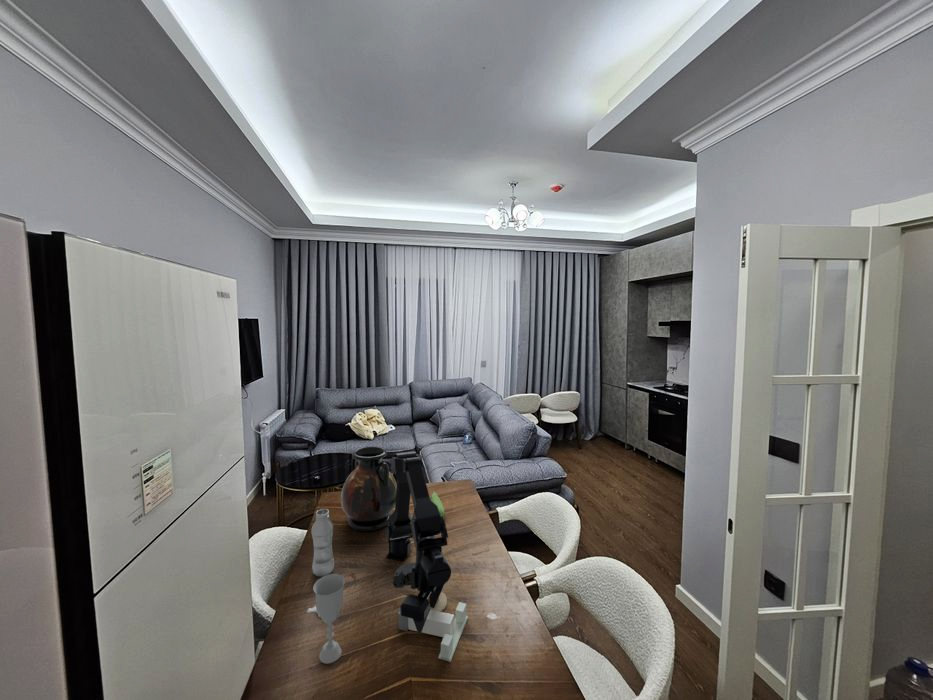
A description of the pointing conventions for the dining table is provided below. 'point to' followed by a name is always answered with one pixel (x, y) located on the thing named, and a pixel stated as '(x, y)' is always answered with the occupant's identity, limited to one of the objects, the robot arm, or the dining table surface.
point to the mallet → (430, 623)
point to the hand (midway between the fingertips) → (426, 618)
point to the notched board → (454, 634)
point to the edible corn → (438, 503)
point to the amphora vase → (369, 490)
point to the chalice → (329, 611)
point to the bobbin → (440, 603)
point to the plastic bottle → (322, 544)
